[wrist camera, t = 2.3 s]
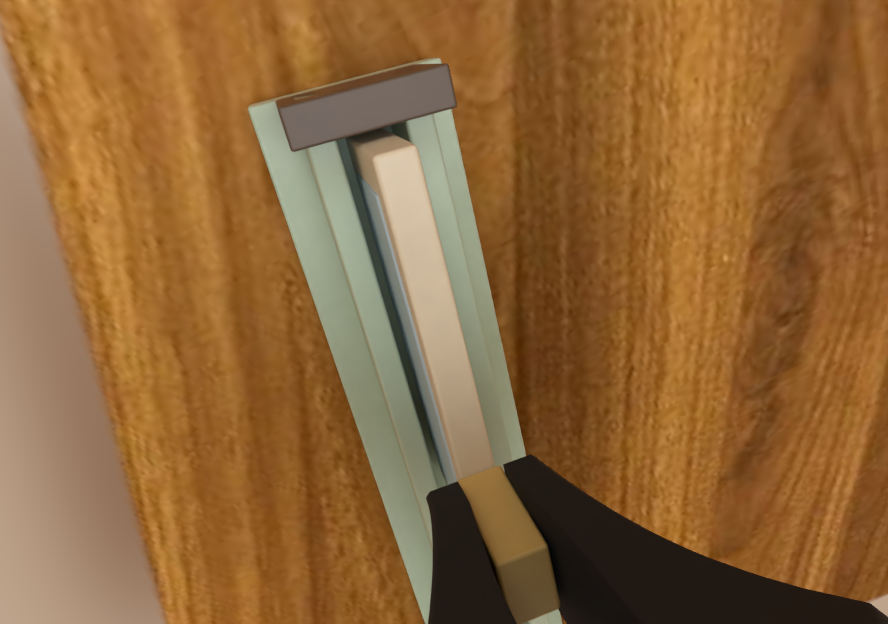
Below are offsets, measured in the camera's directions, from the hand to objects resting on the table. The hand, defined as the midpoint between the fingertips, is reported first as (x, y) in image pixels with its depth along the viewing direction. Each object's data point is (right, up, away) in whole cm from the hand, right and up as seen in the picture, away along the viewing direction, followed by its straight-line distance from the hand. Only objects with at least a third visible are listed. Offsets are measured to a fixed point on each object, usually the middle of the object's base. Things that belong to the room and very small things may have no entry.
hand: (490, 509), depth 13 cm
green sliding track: (-1, 0, +6) cm, 6 cm away
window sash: (-2, +4, +3) cm, 5 cm away
